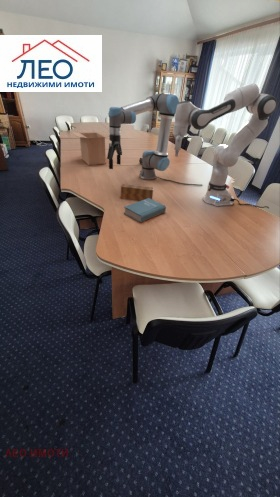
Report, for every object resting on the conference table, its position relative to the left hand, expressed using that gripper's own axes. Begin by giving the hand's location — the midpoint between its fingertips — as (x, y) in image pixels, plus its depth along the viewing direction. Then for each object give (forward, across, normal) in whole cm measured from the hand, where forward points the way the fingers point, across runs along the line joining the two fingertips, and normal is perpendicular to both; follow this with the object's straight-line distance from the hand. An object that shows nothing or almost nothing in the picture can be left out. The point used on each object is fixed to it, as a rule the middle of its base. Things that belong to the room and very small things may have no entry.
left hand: (114, 166), depth 161 cm
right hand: (-13, +5, -43) cm, 45 cm away
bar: (+20, -4, -20) cm, 28 cm away
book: (+20, -23, -32) cm, 45 cm away
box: (+19, +67, +55) cm, 89 cm away
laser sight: (+19, +86, -2) cm, 88 cm away
